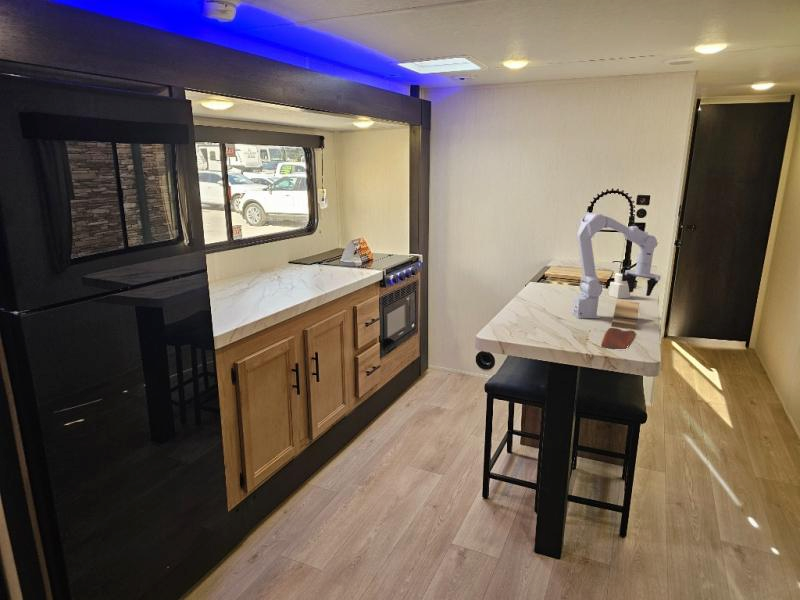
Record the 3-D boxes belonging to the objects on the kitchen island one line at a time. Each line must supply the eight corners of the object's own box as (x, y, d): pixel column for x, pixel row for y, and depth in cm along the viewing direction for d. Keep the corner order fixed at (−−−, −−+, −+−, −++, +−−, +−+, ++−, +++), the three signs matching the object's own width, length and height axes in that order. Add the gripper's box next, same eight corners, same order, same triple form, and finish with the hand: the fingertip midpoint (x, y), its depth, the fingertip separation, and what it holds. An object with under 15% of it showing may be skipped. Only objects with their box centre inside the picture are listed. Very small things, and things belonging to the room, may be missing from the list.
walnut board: (635, 329, 209) (636, 323, 208) (611, 326, 212) (612, 320, 212) (636, 324, 216) (637, 318, 215) (612, 321, 219) (613, 315, 219)
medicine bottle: (620, 294, 267) (623, 271, 264) (629, 298, 260) (632, 274, 257) (608, 295, 265) (611, 272, 262) (617, 298, 258) (620, 275, 255)
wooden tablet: (608, 329, 210) (608, 325, 210) (635, 333, 205) (635, 329, 205) (596, 348, 187) (597, 344, 187) (626, 353, 183) (627, 349, 182)
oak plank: (636, 323, 217) (636, 319, 216) (613, 320, 221) (613, 316, 220) (638, 305, 224) (639, 302, 223) (616, 303, 228) (616, 300, 227)
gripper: (665, 264, 219) (660, 296, 222) (632, 259, 230) (628, 289, 233) (657, 266, 215) (652, 298, 218) (624, 260, 225) (619, 291, 229)
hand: (639, 293), depth 225 cm, fingers open, 7 cm apart
